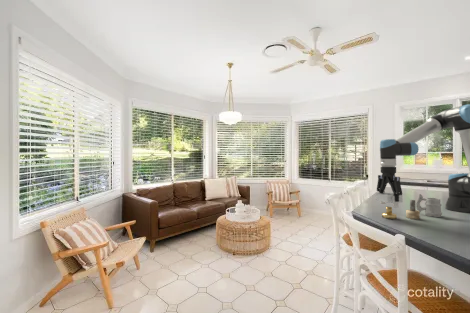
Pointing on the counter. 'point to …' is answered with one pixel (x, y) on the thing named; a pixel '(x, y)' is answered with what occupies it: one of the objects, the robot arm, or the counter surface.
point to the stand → (412, 211)
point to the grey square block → (387, 197)
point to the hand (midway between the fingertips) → (388, 205)
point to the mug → (430, 206)
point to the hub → (389, 214)
